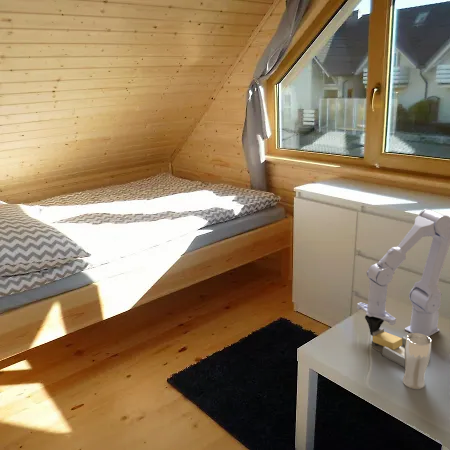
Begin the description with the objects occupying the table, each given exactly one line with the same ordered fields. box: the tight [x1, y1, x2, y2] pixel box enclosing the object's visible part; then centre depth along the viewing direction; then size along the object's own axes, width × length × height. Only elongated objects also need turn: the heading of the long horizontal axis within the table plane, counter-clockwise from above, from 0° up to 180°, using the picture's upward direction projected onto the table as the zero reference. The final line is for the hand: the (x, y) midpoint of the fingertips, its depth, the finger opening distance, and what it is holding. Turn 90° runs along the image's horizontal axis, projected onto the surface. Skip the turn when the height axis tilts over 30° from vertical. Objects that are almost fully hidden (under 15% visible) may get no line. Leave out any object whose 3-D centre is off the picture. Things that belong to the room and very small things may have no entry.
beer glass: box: [402, 332, 432, 390], centre depth 136 cm, size 7×7×15 cm
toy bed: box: [372, 327, 402, 350], centre depth 156 cm, size 8×5×4 cm, turn 35°
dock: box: [371, 335, 407, 369], centre depth 153 cm, size 14×11×4 cm
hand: (373, 334), depth 160 cm, fingers closed
